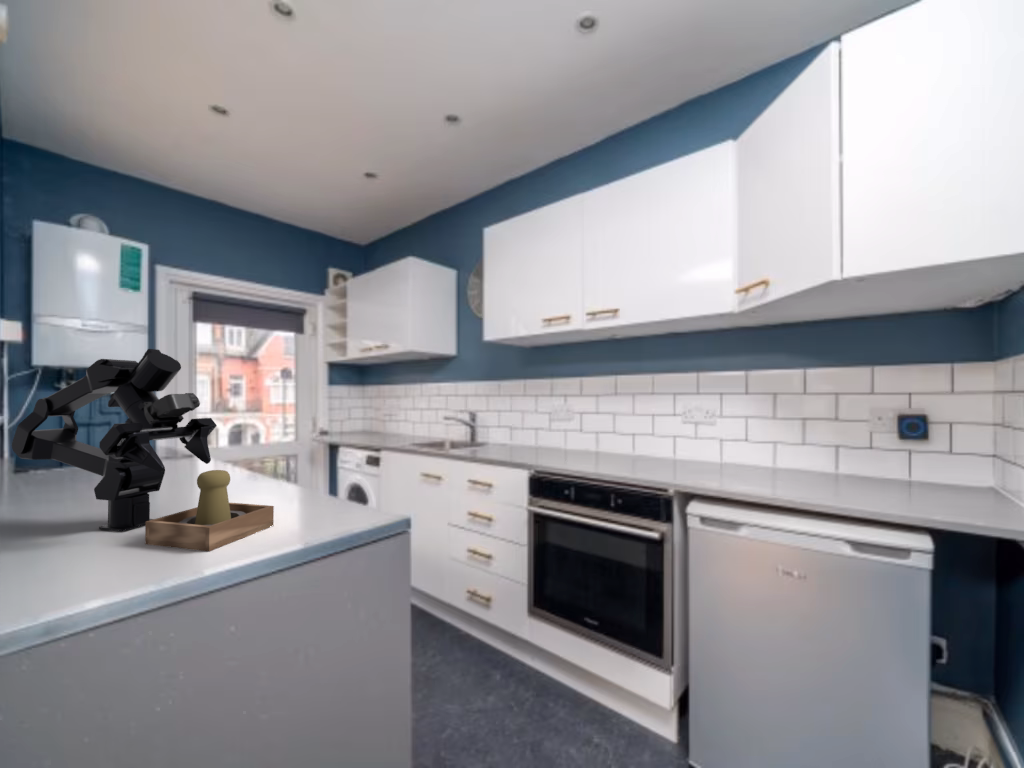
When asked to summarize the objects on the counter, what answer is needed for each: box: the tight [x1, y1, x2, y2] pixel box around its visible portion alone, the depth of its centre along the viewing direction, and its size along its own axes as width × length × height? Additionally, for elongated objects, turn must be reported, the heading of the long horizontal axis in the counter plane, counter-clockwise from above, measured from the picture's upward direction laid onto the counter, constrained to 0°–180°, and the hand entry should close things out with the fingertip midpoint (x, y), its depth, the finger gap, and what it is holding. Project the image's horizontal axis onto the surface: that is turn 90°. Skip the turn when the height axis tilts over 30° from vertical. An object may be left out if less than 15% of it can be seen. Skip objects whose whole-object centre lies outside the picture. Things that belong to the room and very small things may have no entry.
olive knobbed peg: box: [195, 469, 231, 525], centre depth 81 cm, size 6×6×11 cm
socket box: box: [144, 502, 275, 552], centre depth 81 cm, size 14×14×4 cm
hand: (187, 466), depth 82 cm, fingers open, 9 cm apart
